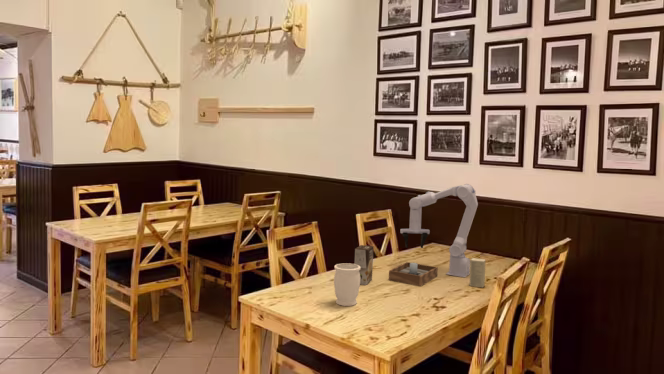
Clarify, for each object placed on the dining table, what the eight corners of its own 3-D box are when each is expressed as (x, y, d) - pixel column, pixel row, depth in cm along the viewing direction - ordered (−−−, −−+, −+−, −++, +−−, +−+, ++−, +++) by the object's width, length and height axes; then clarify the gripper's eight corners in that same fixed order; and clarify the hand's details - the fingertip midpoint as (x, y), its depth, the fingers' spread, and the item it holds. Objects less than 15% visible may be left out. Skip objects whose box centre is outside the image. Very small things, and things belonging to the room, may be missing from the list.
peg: (411, 276, 254) (412, 262, 253) (418, 278, 252) (419, 263, 251) (407, 278, 251) (408, 263, 251) (414, 279, 249) (414, 265, 248)
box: (406, 270, 264) (407, 262, 264) (437, 276, 256) (437, 267, 255) (388, 280, 247) (389, 270, 247) (420, 286, 239) (421, 276, 238)
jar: (350, 309, 206) (352, 271, 204) (328, 303, 211) (329, 266, 210) (364, 302, 215) (365, 265, 213) (342, 297, 220) (343, 261, 219)
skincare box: (484, 285, 243) (486, 259, 242) (482, 288, 239) (484, 261, 238) (470, 283, 246) (472, 257, 245) (468, 285, 242) (470, 259, 241)
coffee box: (367, 285, 238) (368, 250, 236) (353, 283, 240) (354, 248, 238) (372, 280, 246) (373, 246, 245) (359, 278, 248) (360, 244, 247)
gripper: (402, 222, 264) (401, 249, 265) (431, 222, 265) (430, 249, 266) (400, 219, 271) (398, 245, 272) (428, 220, 272) (426, 246, 273)
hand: (414, 247), depth 270 cm, fingers open, 7 cm apart
